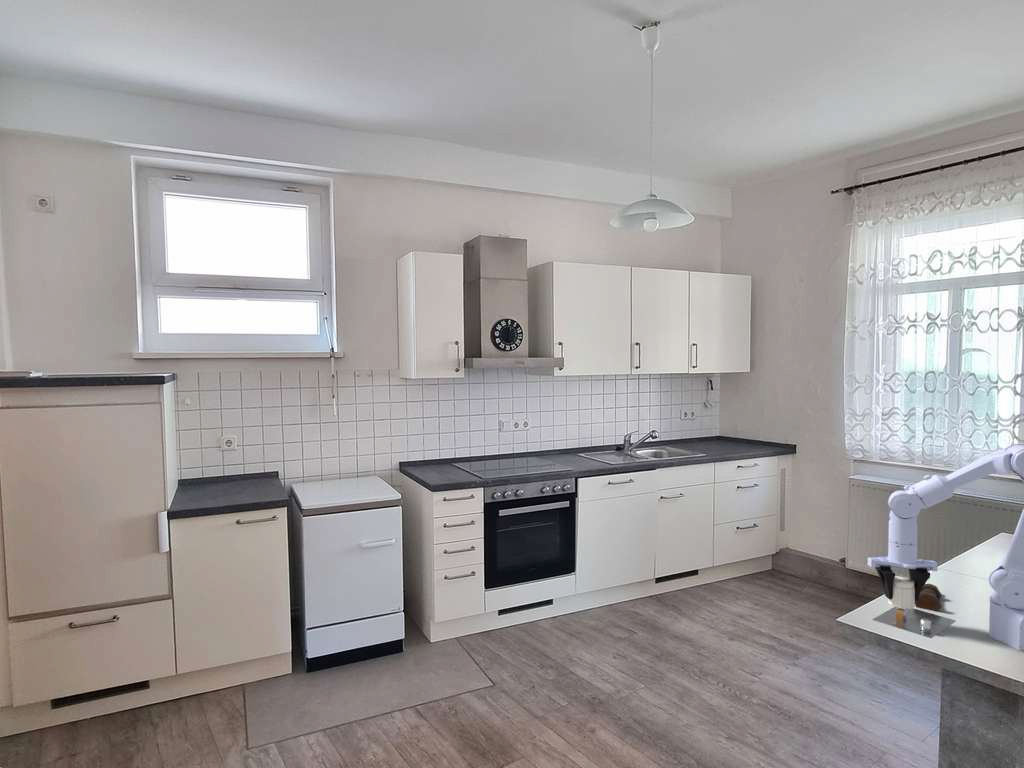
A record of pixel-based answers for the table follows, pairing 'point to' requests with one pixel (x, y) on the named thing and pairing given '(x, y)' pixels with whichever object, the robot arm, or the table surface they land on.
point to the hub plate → (915, 621)
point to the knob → (903, 593)
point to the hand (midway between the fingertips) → (901, 598)
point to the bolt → (929, 598)
